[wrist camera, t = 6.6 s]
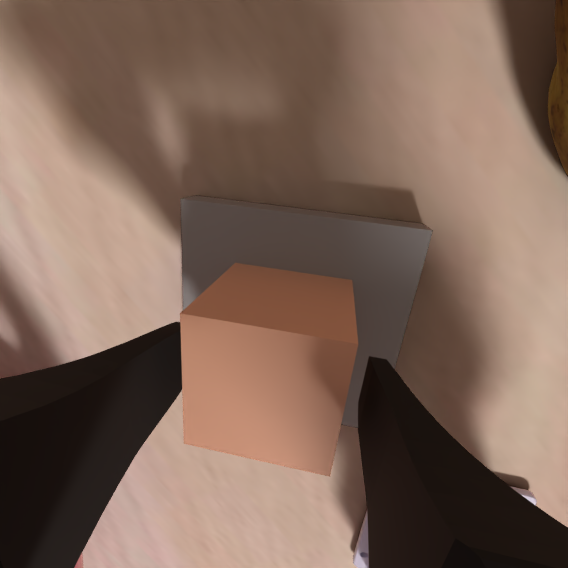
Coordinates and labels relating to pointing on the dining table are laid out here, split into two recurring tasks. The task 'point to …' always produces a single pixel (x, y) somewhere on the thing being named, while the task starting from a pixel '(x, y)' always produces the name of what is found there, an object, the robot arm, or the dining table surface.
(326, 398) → the terracotta block
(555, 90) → the potato
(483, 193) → the dining table surface
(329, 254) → the slate board
